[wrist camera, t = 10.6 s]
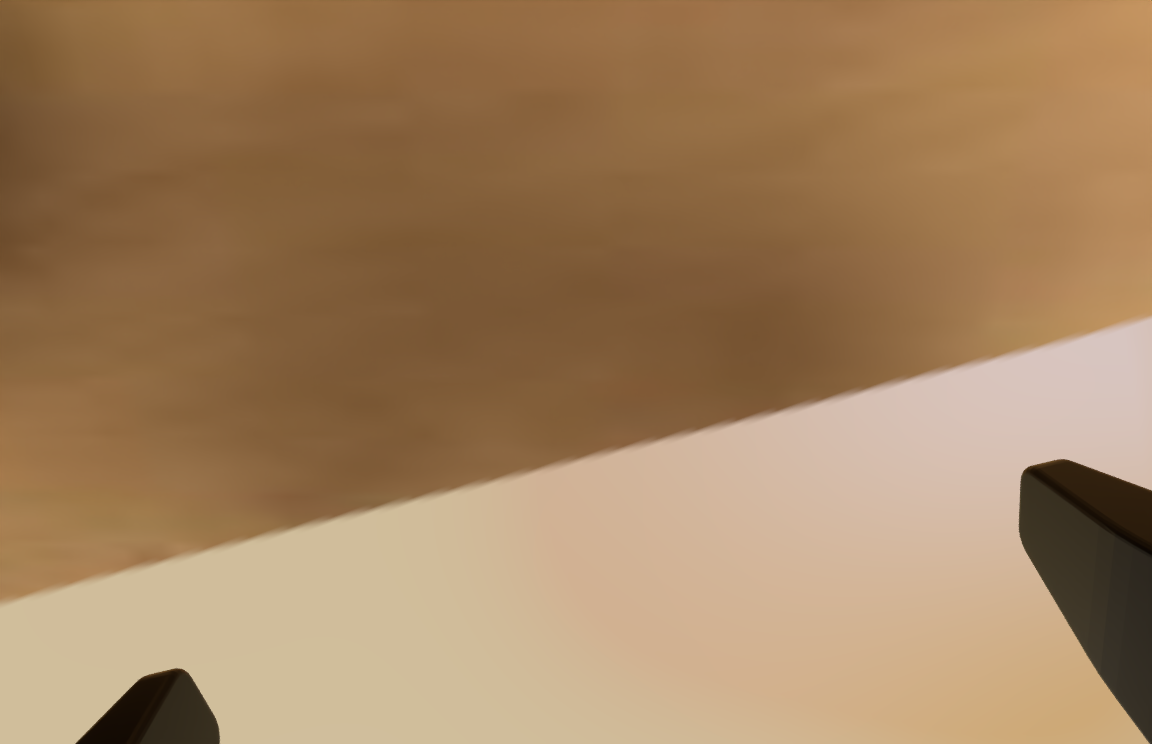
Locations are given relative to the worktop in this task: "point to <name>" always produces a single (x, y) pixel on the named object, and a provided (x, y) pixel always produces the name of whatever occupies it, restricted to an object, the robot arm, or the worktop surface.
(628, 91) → the worktop surface
